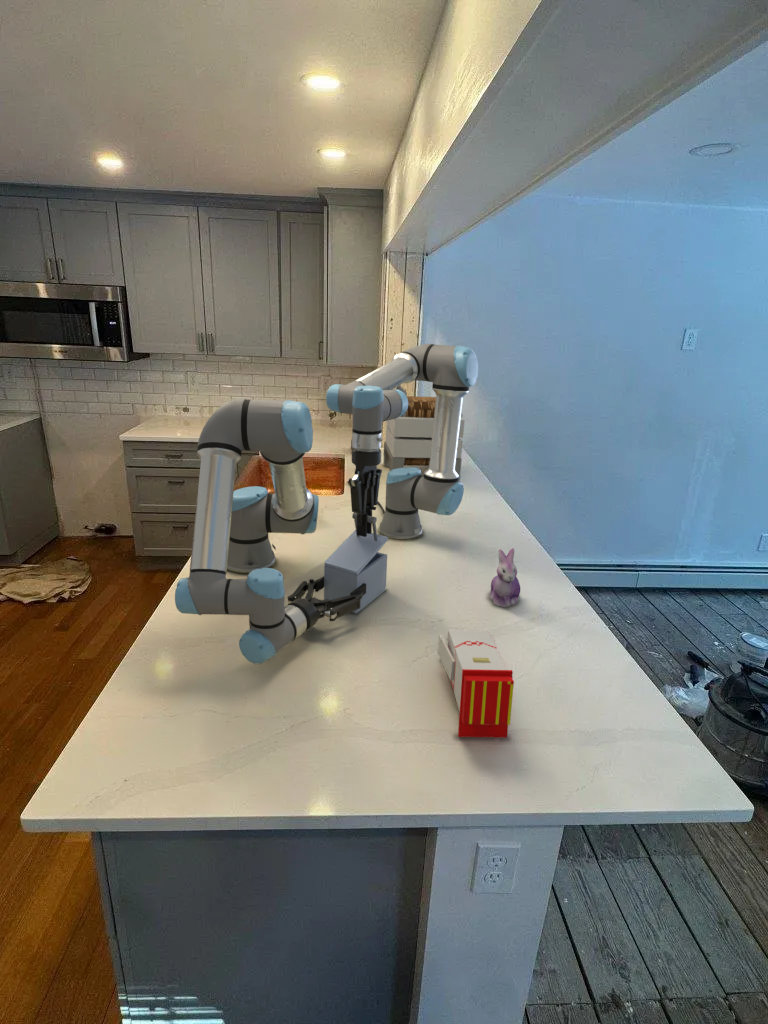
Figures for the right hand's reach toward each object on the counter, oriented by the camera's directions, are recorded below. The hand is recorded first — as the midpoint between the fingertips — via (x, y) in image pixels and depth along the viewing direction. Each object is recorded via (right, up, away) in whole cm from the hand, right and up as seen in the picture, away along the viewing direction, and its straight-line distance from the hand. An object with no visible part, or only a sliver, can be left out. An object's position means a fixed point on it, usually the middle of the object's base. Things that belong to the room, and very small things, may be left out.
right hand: (364, 533), depth 152 cm
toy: (+23, -32, -34) cm, 52 cm away
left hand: (-4, -13, -3) cm, 14 cm away
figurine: (+39, -19, +5) cm, 43 cm away
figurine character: (-10, +39, +158) cm, 163 cm away
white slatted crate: (+23, +25, +123) cm, 127 cm away
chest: (-2, -17, +3) cm, 18 cm away
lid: (-2, -5, -1) cm, 5 cm away
